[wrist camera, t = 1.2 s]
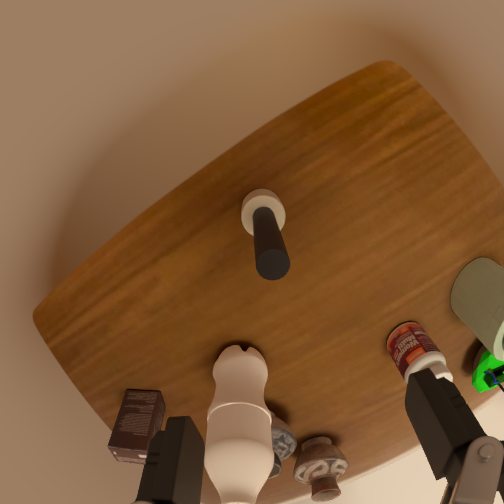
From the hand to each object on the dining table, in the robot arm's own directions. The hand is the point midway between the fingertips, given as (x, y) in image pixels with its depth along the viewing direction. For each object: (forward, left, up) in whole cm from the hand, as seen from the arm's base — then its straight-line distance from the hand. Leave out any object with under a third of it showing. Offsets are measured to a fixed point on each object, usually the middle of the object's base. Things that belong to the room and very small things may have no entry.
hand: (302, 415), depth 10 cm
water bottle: (+19, -7, -28) cm, 34 cm away
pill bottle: (+22, +17, -28) cm, 39 cm away
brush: (-1, 0, -28) cm, 28 cm away
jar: (+17, +30, -28) cm, 44 cm away
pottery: (+38, -3, -28) cm, 47 cm away
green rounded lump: (+32, +36, -28) cm, 56 cm away
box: (+25, -24, -28) cm, 44 cm away
